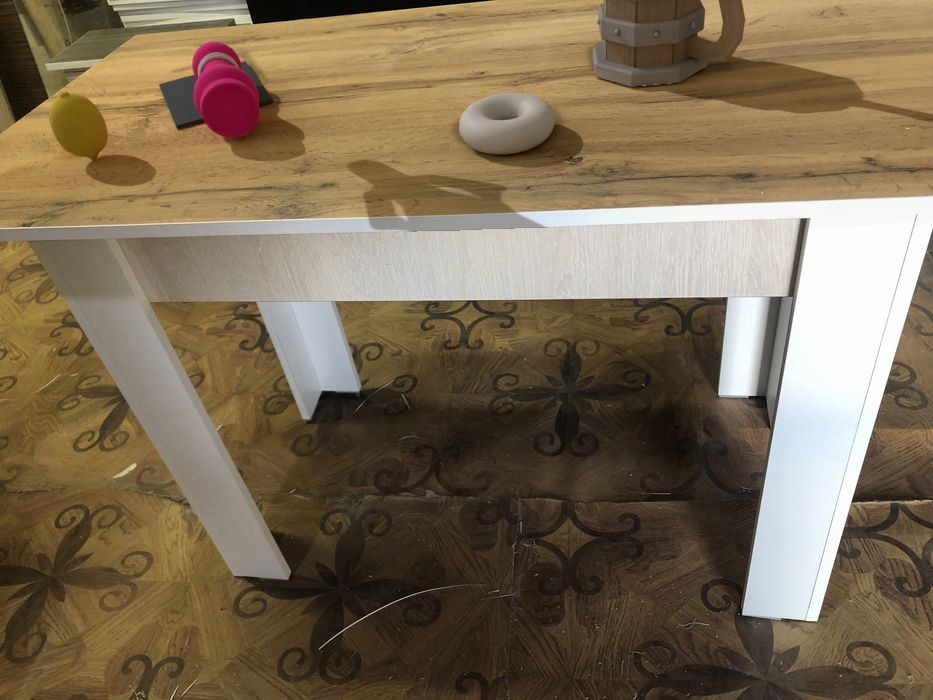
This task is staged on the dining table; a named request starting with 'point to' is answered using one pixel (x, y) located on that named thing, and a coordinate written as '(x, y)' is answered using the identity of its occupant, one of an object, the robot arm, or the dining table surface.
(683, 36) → the tankard
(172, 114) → the mat
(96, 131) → the lemon
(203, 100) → the pepper mill
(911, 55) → the dining table surface
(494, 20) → the dining table surface
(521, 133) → the donut
